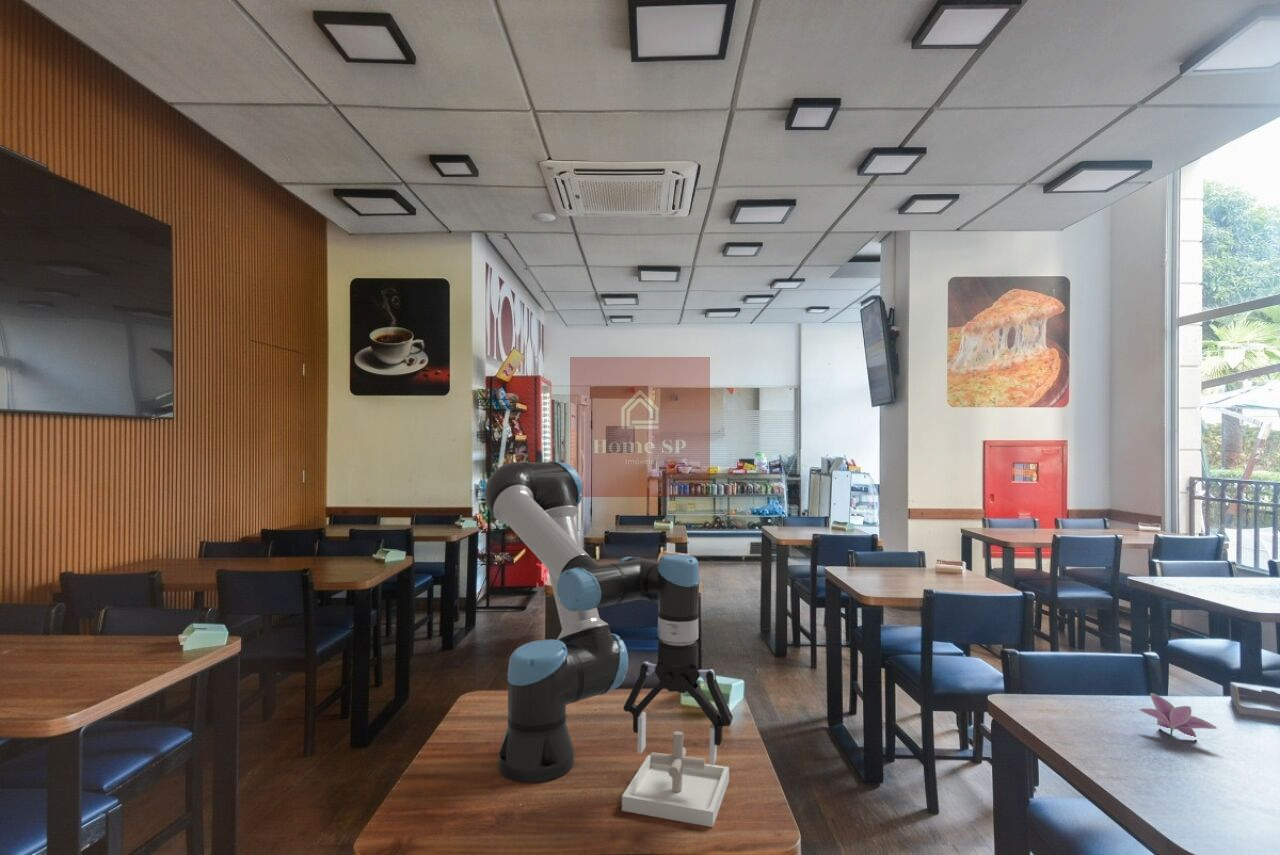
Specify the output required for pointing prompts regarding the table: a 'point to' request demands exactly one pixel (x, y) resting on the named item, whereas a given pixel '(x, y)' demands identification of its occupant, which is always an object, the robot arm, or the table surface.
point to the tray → (677, 793)
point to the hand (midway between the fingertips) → (676, 756)
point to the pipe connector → (677, 761)
